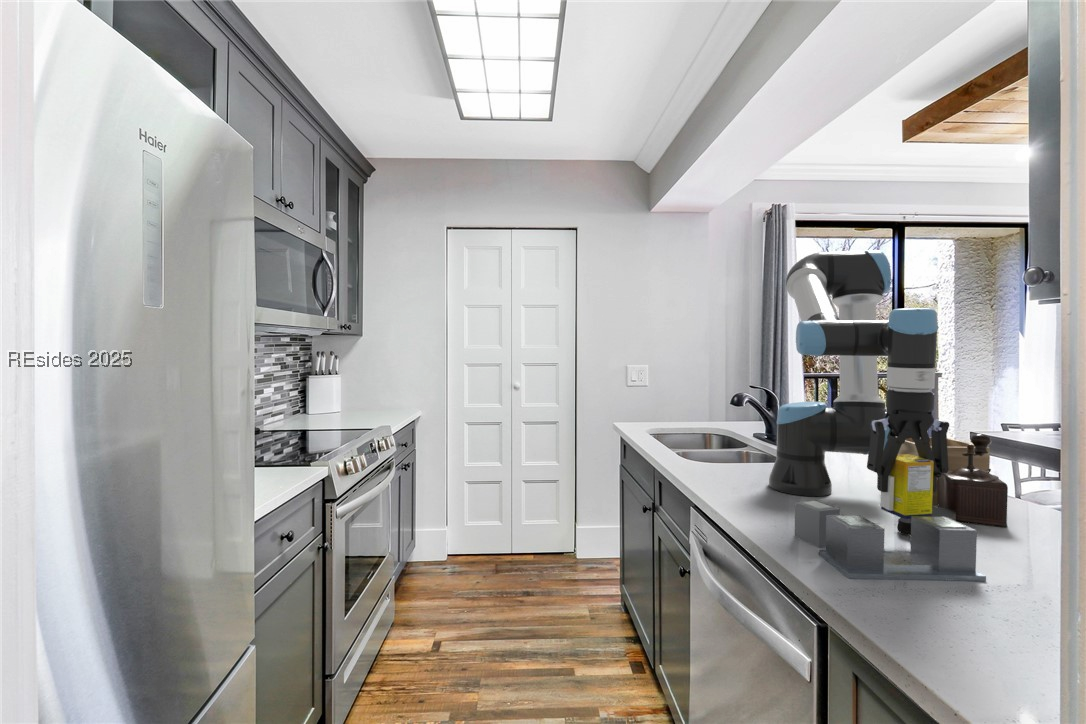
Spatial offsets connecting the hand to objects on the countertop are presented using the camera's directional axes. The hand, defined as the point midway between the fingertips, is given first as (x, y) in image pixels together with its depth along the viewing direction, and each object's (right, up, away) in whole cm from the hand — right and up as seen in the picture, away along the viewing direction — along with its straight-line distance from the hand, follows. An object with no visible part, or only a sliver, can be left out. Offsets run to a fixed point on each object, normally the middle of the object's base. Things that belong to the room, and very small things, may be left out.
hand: (905, 508), depth 100 cm
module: (-16, -7, +2) cm, 18 cm away
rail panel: (-9, -7, -10) cm, 15 cm away
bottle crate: (+31, -6, +34) cm, 46 cm away
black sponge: (+10, -7, +9) cm, 15 cm away
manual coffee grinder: (+27, -7, +19) cm, 34 cm away
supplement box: (0, -1, 0) cm, 1 cm away
